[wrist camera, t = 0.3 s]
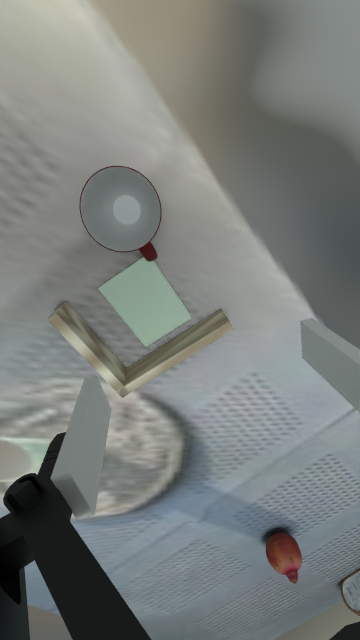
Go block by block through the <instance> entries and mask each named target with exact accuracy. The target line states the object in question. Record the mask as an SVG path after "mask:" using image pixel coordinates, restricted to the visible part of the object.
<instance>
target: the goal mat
mask: <svg viewBox="0 0 360 640" xmlns="http://www.w3.org/2000/svg"><path fill="white" fill-rule="evenodd" d="M98 289H99V291H100V292H101V293H102V294H103V295H104V297H105V298H106V299H107V300H108V302H109V303H110V304H111V305H112V307H113V308H114V309H115V310H116V311H117V313H118V314H119V315H120V316H121V318H122V319H123V320H124V321H125V322H126V324H127V325H128V326H129V327H130V329H131V330H132V331H133V332H134V334H135V335H136V336H137V337H138V338H139V340H140V341H141V342H142V343H143V345H144V346H145V347H147V346H148V345H150V344H151V343H153V342H155V341H156V340H158V339H159V338H161V337H162V336H164V335H166V334H167V333H169V332H170V331H172V330H174V329H175V328H177V327H178V326H180V325H181V324H183V323H185V322H186V321H188V320H189V319H191V318H192V316H191V315H190V313H189V312H188V310H187V309H186V307H185V306H184V304H183V303H182V301H181V300H180V299H179V297H178V296H177V294H176V293H175V291H174V290H173V288H172V287H171V285H170V284H169V282H168V281H167V279H166V278H165V276H164V275H163V273H162V272H161V271H160V269H159V268H158V266H157V265H156V263H155V262H154V260H153V261H151V262H149V261H147V260H146V259H145V258H144V257H142V258H141V259H139V260H138V261H136V262H135V263H134V264H132V265H131V266H129V267H128V268H126V269H125V270H123V271H122V272H120V273H119V274H117V275H116V276H114V277H113V278H111V279H110V280H109V281H107V282H106V283H104V284H103V285H101V286H100V287H98Z"/></svg>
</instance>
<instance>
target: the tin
mask: <svg viewBox="0 0 360 640" xmlns="http://www.w3.org/2000/svg"><path fill="white" fill-rule="evenodd" d="M341 594H342V598H343V600H344V602H345V604H346V605H347V607H348V608H349V609H350V610H351V611H353V612H354V613H355V614H357V615H359V616H360V569H358V570H357V571H355V572H353V573H352V574H350V575H349V576H347V577H345V578H344V579H343V581H342V583H341Z"/></svg>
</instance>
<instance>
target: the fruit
mask: <svg viewBox="0 0 360 640" xmlns="http://www.w3.org/2000/svg"><path fill="white" fill-rule="evenodd" d="M266 555H267V558H268V561H269V563H270V564H271V566H272V567H273V568H274V570H275V571H276V572H278V573H280V574H282V575H287V577H288V578H289V580H290V581H291V582H292V583H297V580H298V574H297V571H298V569H299V568H300V566H301V563H302V556H301V552H300V549H299V546H298V544H297V542H296V540H295V539H294V538H293V537H292V536H291V535H288V534H286V533H281V532H278V533H274V534H273V535H271V536H270V537H269V538H268V541H267V544H266Z"/></svg>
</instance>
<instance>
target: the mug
mask: <svg viewBox="0 0 360 640" xmlns="http://www.w3.org/2000/svg"><path fill="white" fill-rule="evenodd" d="M80 214H81V218H82V221H83V224H84V226H85V228H86V230H87V231H88V233H89V234H90V236H91V237H92V238H93V239H94V240H95V241H96V242H97V243H99V244H100V245H102V246H103V247H105V248H107V249H110V250H113V251H117V252H131V251H135V250H138V249H139V250H140V252H141V253H142V255H143V256H144V258H145V259H146V260H147V261H149V262H151V261H153V260H155V259H156V258H157V253H156V251H155V249H154V247H153V245H152V244H151V242H150V241H151V240H152V238H153V237H154V236H155V234H156V232H157V230H158V228H159V225H160V221H161V204H160V200H159V196H158V194H157V192H156V190H155V188H154V186H153V185H152V184H151V182H150V181H149V180H148V179H147V178H146V177H145V176H144V175H142V174H141V173H139V172H138V171H136V170H134V169H131V168H128V167H124V166H111V167H106V168H104V169H101V170H99V171H98V172H96V173H95V174H93V175H92V176H91V177H90V178H89V180H88V181H87V182H86V184H85V186H84V188H83V190H82V193H81V197H80Z"/></svg>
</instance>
